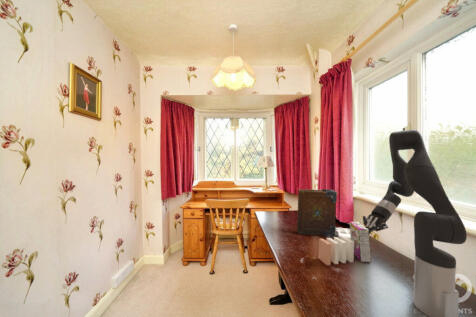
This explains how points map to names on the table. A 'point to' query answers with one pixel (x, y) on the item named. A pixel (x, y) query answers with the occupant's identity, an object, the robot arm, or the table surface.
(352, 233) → the candy bar box
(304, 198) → the decorative book
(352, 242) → the domino
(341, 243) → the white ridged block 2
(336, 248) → the domino
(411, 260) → the table surface
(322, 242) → the domino
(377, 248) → the table surface
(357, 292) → the table surface
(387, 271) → the table surface
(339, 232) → the white brass knuckles
